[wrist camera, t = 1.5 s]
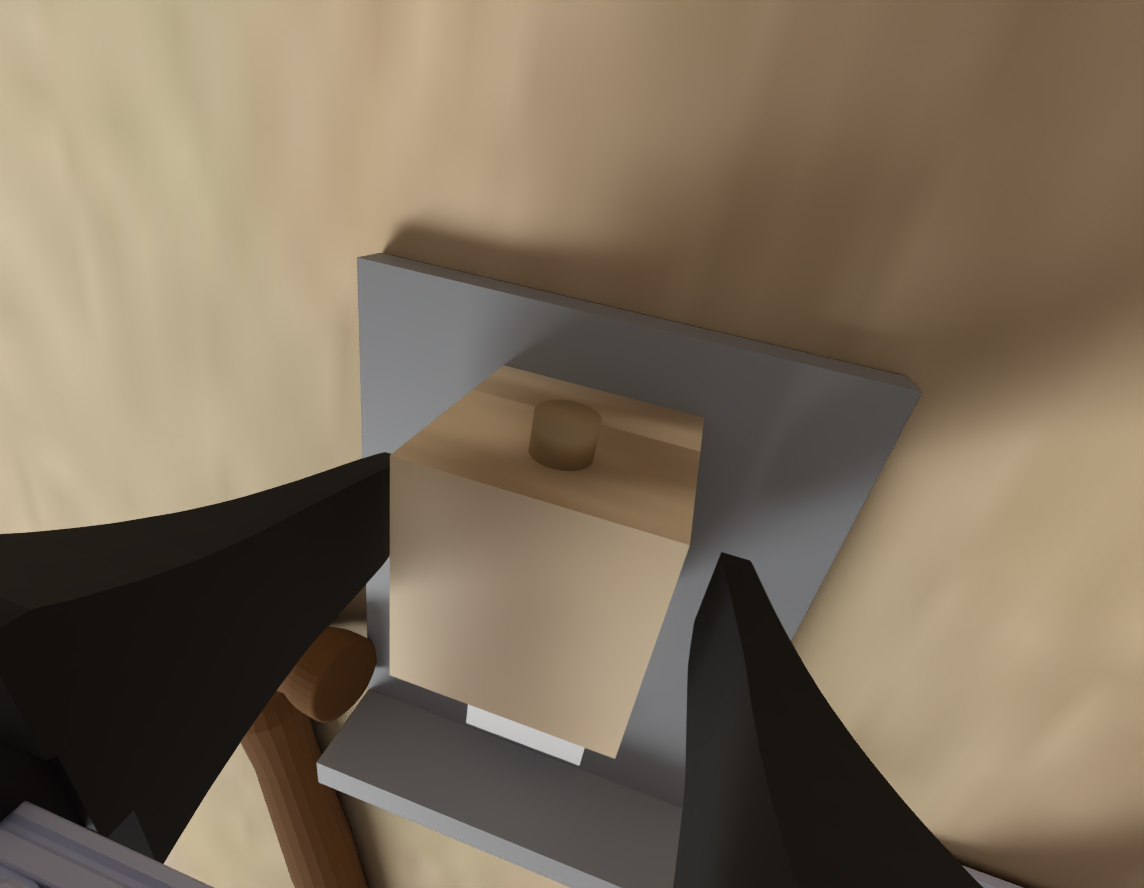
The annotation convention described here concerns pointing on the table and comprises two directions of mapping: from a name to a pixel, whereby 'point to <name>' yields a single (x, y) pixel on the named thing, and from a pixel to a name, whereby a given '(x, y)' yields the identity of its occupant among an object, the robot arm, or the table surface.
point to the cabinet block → (540, 550)
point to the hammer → (311, 759)
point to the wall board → (720, 524)
